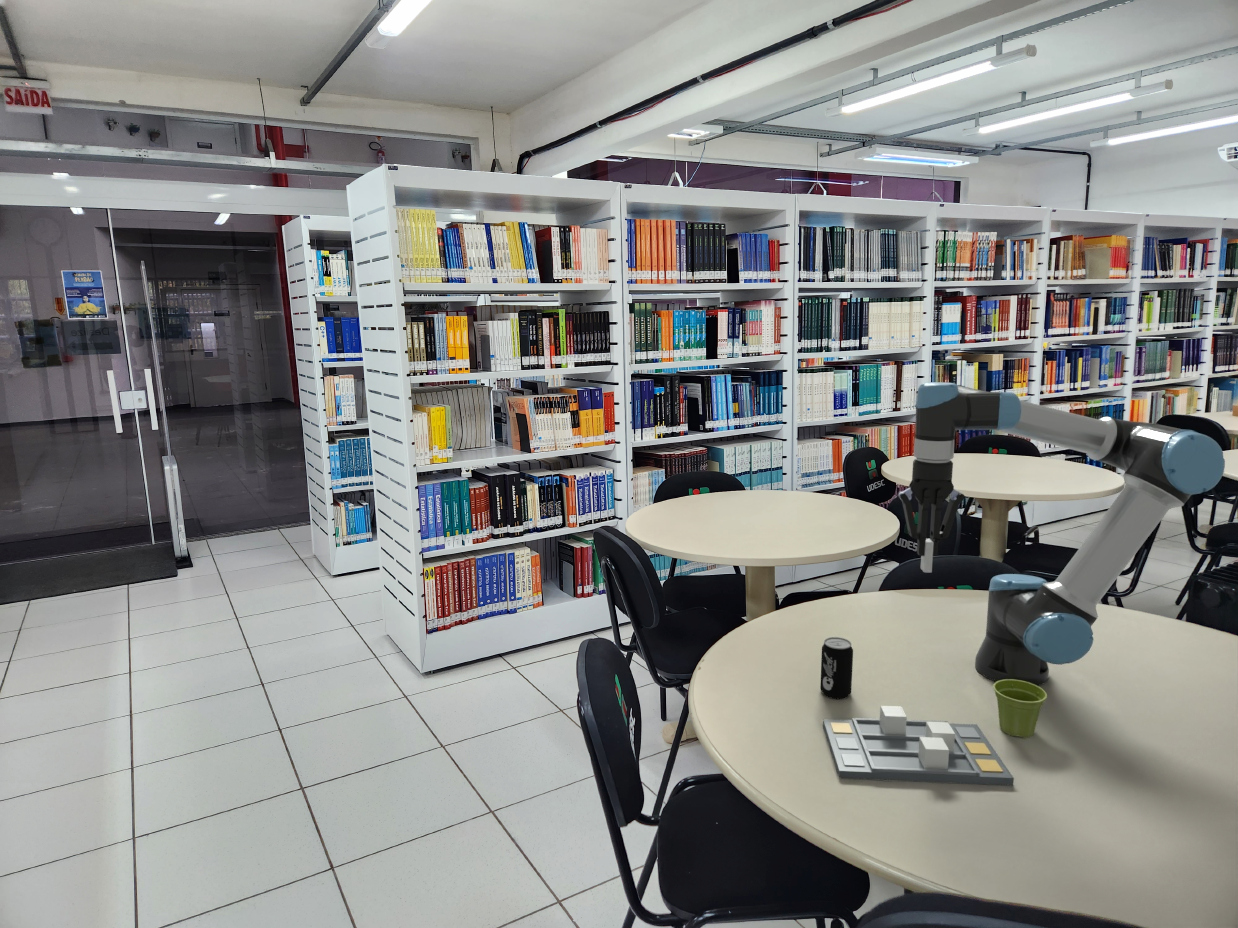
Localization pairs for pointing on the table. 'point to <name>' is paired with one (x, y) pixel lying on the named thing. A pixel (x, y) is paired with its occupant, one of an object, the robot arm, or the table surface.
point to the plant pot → (1018, 706)
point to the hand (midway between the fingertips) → (926, 570)
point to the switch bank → (911, 754)
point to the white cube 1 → (893, 720)
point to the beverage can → (836, 668)
